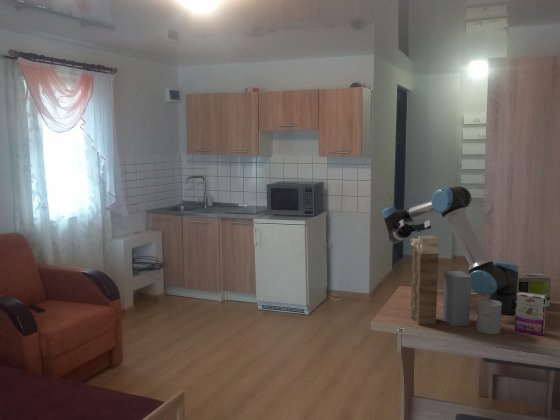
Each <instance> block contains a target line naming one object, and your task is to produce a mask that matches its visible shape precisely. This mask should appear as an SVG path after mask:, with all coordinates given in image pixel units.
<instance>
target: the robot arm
mask: <svg viewBox="0 0 560 420" xmlns="http://www.w3.org/2000/svg"><path fill="white" fill-rule="evenodd" d="M471 202H472V194H471V192H470V190H469V189H467V188H466V187H463V186H450V187H442V188H439V189H437V190H435V191H434V193H433V194H432V197H431V200H428V201H426V202H424V203H421V204H417V205H414V206H411V207H408V208H404V209H398V210H397V209H396V207H395V206H389V207H386V208H384V209H382V212H381V213H382V217H383V220H384V223H385V226H386V229H387V237H386V239H387V240H388V241H389V243H391V244H397V243H401V242H402V241H403V240H405V239H406V238H408V237H410V236H411V234H412V233H414V232H415V233H416V232H417V233H419V232H421V231H426V230H429V229H430V230H431V229H432V219H428V220H426V221H425V222H423V223H420V224H408V223H413V222H416V221H418V220H420V219H423V218H428V217H430V216H433V215H437V214H441V217H442V219H443V220H446V221H448V224H449V225H450V228H451V230H452V232H453V234H454V236H455V238H456V240H457V242H458V245H459V247H460V248H461V250H462V253H463V255H464V257H465V259H466V261H467V263H468V265H469V266H468V271H467V272H468V273H469V274H468V275H469V276H471V291H473V292H475V294H478V295H480V296H481V295H482V296H487V295H488V297H487V299H492V300H496V301H499V302H501V303H502V306H501V315H515V311H516V294H517V284H518V273H520V272H519V266H518V264H516V263H512V262H508V261H502V260H501V261H500V260H492V259H489V258H488V257H487V255H486V252H485V251H484V249H483V247H482V244H481V243H480V240H479V238H478V237H477V235H476V233H475V231H474V228H473V226H472V225H471V222H470V221H469V218H468V217H467V216H468V215H466V211H467V208H468V207H469V206H470V204H471Z"/></svg>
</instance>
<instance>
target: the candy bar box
mask: <svg viewBox="0 0 560 420" xmlns="http://www.w3.org/2000/svg"><path fill="white" fill-rule="evenodd" d="M546 308H547V307H546V295H540V294H533V293H525V292H518V293H517V294H516V311H515V314H514V315H515V317H514V331H515V332H519V331H520V332H519V333H525V332H526V334H530V333H532V334H531V335H536V334H538V336H541V335H543V336H544V334H545V332H546V331H545V325H546V324H545V323H546V311H547V309H546Z"/></svg>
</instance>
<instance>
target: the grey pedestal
mask: <svg viewBox="0 0 560 420" xmlns="http://www.w3.org/2000/svg"><path fill="white" fill-rule="evenodd" d="M443 272H444V273H443V294H442V295H443V298H442V315H441V316H442V317H441V319H442V320H444V321H445V322H446V323H448V324H449V325H450V326H451V327H458V326H459V327H460V326H462V327H463V326H470V320H471V319H470V316H471V315H470V314H471V296H472V294H471V292H472V288H471V276H469V275H470V274H467V273H466V272H464V271H462V270H451V271H450V270H447V271H443Z"/></svg>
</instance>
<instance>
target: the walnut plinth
mask: <svg viewBox="0 0 560 420" xmlns="http://www.w3.org/2000/svg"><path fill="white" fill-rule="evenodd" d="M411 253H412V259H411V260H412V261H411V288H410V289H411V292H410V297H411V298H410V319H412V320H413V321H414V322H415V324H417V325H418V326H420V325H421V326H423V325H425V326H427V325H437V324H436V323H437V322H436V321H437V304H438V302H437V301H438V282H439V279H438V278H439V277H438V276H439V255H440V253H438V252H437V254H421V253H419V252H418V249H417V248H412V252H411Z"/></svg>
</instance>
